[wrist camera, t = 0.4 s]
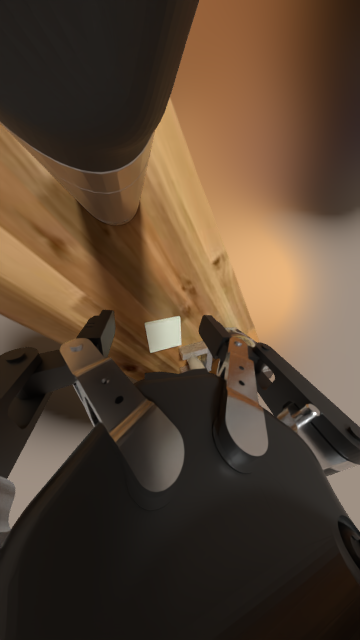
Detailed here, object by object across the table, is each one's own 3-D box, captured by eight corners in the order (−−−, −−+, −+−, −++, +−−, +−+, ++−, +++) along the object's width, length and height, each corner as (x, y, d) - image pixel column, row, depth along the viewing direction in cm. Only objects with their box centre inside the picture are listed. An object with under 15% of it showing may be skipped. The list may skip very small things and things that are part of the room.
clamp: (178, 347, 39) (182, 355, 36) (207, 339, 42) (213, 346, 39) (180, 371, 44) (183, 380, 41) (205, 363, 47) (210, 370, 44)
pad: (144, 322, 31) (144, 324, 31) (178, 316, 34) (180, 317, 33) (149, 350, 36) (150, 352, 35) (180, 342, 38) (181, 344, 37)
